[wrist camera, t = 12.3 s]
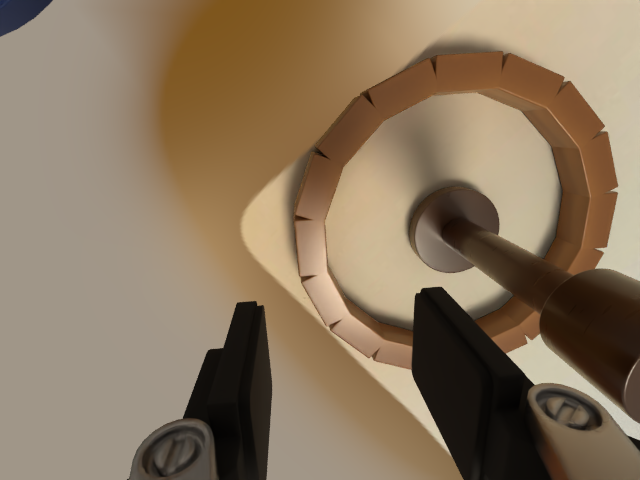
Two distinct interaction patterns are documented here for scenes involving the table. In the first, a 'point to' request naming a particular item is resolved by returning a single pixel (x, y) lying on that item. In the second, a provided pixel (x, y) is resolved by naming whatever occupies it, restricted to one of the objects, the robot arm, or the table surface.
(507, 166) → the table surface
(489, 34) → the table surface
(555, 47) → the table surface
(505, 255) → the brown peg stand
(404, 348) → the ring
